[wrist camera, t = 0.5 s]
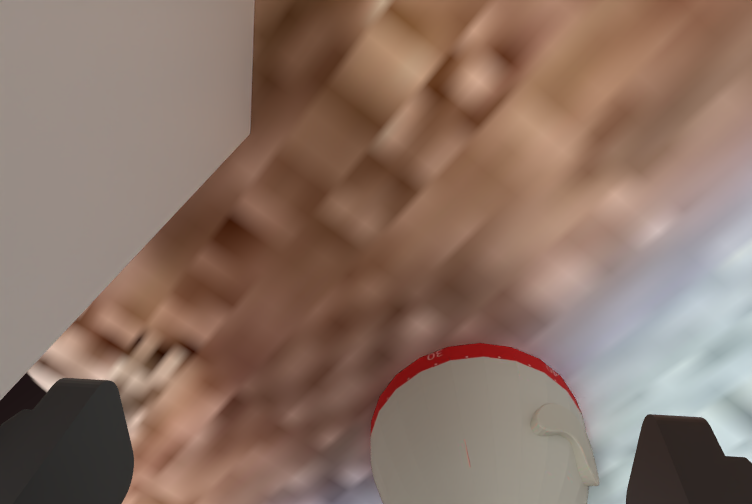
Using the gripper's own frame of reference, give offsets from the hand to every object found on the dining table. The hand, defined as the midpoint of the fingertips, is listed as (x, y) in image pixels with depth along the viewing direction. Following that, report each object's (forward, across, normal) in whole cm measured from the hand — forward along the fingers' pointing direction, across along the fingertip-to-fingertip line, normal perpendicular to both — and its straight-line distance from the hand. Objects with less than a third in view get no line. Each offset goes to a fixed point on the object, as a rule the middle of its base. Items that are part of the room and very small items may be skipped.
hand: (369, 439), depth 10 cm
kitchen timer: (+27, -4, +24) cm, 36 cm away
